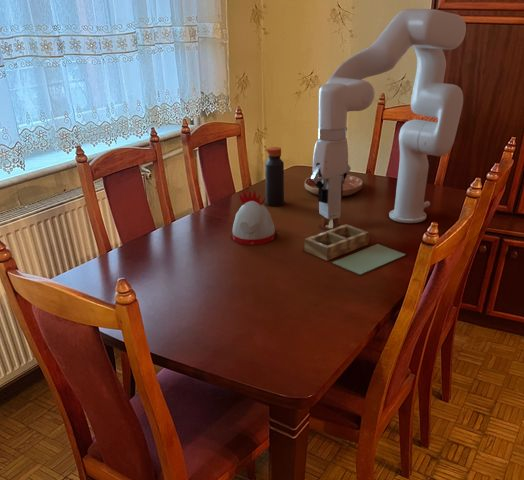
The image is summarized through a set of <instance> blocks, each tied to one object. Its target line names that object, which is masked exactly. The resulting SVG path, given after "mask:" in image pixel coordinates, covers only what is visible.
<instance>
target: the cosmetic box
mask: <svg viewBox="0 0 524 480" xmlns="http://www.w3.org/2000/svg"><path fill="white" fill-rule="evenodd" d="M341 177H342V176H340V175H338V176H334V177H331V178H329V179H328V183H327V187H326V189H328V199H327V203H322V202H319V201H318V211H319V212H318V214H319V215H321V217H322V216H324V217H326V218H327V219H335V218H338V219H340V218H341V208H342V207H341V206H342V205H341V204H342V198H341ZM323 181H324V180H322V183H323Z"/></svg>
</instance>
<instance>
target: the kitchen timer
mask: <svg viewBox="0 0 524 480" xmlns="http://www.w3.org/2000/svg"><path fill="white" fill-rule="evenodd" d="M256 193H257V192H256V190H254V191H253V193H252V191H251V190H249V192H248V196H247V193H246V191H245V190H244V191H243V193H242V194H243V195H242V194H239V195H238V197H239V200H240V202H241V203H242V205H241V206H240V208H239V209H238V211H236V213H234V216H235V217H234V221H233V224H232V239H233V241H234V242H237V243H239V244H242V245H251V246H252V245H253V246H254V245H262V244H266V243H270V242H271V241H273V240H274V239H275V238H276V230H275V224H274V222H273V219H272V216H271V213H270V211H269V210H268V209H267V207H266V206H265V205H264V202H265V201H266V197H263V199H262V201H260V200H261V199H260V198H261V193H260V194H259V195H258V196H257V194H256Z"/></svg>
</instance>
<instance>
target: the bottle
mask: <svg viewBox="0 0 524 480" xmlns="http://www.w3.org/2000/svg"><path fill="white" fill-rule="evenodd" d="M266 150H267V151H266V152H267V153H266V156H267V160H266V161H265V163H264V173H265V174H264V175H265V176H264V177H265V179H264V181H265V182H264V183H265V204H266V205H267V206H269V207H280V206H283V205H284V203H285V182H284V181H285V163H284V161H283V160H282V159H281V157H282V148H281V147H279V146H271V147H267V149H266Z"/></svg>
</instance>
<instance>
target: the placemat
mask: <svg viewBox="0 0 524 480" xmlns="http://www.w3.org/2000/svg"><path fill="white" fill-rule="evenodd" d="M406 255H407V254H406V253H403V252H401V251H398V250H395V249H392V248H389V247H387V246H384V245H381V244H379V243H376V244H374V245H372V246H369V247H366V248H364V249H361V250H359V251H357V252H354V253H351V254H349V255H346V256H344V257H342V258H340V259H336V260H334V261H332V264H333V265H336V266H338V267H340V268H343V269H345V270H347V271H349V272H352V273H354V274H357V275H359V276H362V275H364V274H366V273H369V272H371V271H373V270H375V269H377V268H380V267H382V266H385V265H387V264H390V263H392V262H395V261H396V260H399V259H400V258H404V257H406Z"/></svg>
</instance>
